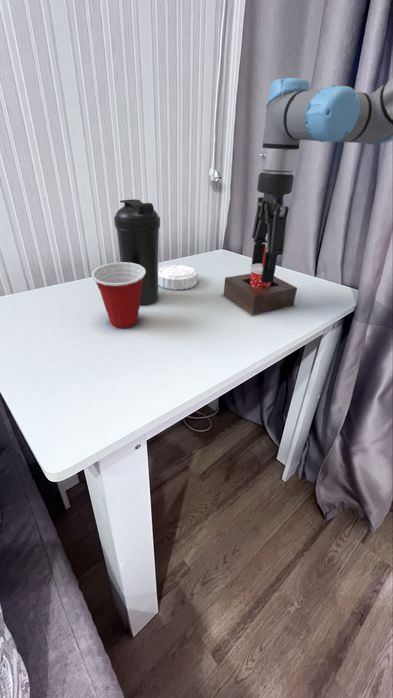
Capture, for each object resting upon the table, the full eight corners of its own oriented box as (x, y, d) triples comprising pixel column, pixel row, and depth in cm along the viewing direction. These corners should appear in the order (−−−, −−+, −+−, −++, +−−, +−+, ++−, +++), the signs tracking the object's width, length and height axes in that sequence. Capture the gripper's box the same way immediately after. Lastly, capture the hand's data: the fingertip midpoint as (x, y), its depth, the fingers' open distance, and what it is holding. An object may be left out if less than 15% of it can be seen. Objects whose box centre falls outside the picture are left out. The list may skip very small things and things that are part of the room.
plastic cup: (88, 328, 71) (79, 274, 64) (115, 308, 79) (110, 259, 73) (133, 339, 68) (129, 283, 61) (156, 317, 76) (154, 266, 70)
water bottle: (146, 287, 91) (142, 196, 79) (169, 299, 85) (169, 203, 72) (113, 296, 85) (103, 199, 73) (136, 310, 79) (129, 207, 66)
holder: (262, 288, 94) (264, 271, 91) (293, 306, 84) (297, 287, 82) (223, 295, 89) (225, 277, 86) (252, 315, 79) (255, 296, 76)
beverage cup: (255, 307, 83) (263, 251, 75) (241, 298, 87) (247, 244, 80) (274, 303, 86) (284, 248, 78) (259, 294, 90) (267, 242, 82)
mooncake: (188, 293, 89) (188, 280, 87) (148, 285, 92) (147, 273, 90) (203, 278, 98) (203, 267, 97) (166, 272, 102) (166, 260, 100)
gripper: (246, 168, 79) (236, 262, 91) (276, 176, 61) (259, 291, 74) (276, 169, 80) (263, 261, 92) (314, 178, 62) (291, 290, 75)
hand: (261, 275), depth 83 cm, fingers open, 8 cm apart
